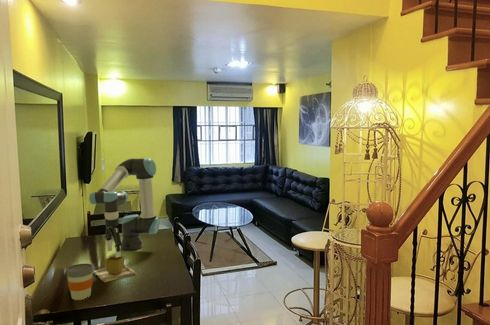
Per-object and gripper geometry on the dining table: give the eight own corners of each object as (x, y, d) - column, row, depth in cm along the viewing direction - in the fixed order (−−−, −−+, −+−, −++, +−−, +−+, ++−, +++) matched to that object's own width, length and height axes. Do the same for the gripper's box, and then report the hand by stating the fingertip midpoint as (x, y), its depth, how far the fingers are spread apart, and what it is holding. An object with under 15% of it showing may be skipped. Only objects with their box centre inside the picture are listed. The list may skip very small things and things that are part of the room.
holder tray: (93, 273, 227) (93, 270, 227) (123, 266, 238) (123, 263, 238) (104, 282, 213) (104, 279, 213) (135, 274, 224) (135, 271, 224)
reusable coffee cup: (76, 290, 202) (74, 263, 201) (98, 291, 201) (97, 263, 200) (62, 301, 190) (60, 271, 189) (86, 302, 189) (85, 272, 187)
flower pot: (125, 271, 228) (125, 256, 228) (119, 275, 219) (118, 259, 219) (111, 271, 229) (111, 256, 229) (104, 275, 220) (104, 260, 220)
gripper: (98, 215, 230) (100, 249, 232) (113, 223, 210) (115, 261, 213) (110, 213, 234) (112, 247, 237) (126, 221, 215) (128, 257, 217)
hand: (113, 253), depth 225 cm, fingers open, 13 cm apart
